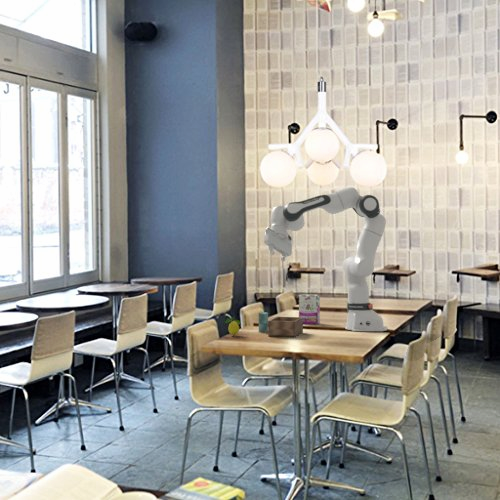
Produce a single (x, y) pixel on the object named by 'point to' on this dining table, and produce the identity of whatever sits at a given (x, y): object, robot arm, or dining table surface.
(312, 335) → the dining table surface
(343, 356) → the dining table surface
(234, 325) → the lemon
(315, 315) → the candy bar box
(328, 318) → the dining table surface
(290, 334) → the walnut box
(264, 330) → the peg
